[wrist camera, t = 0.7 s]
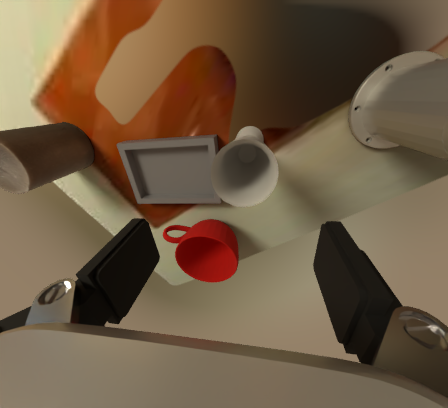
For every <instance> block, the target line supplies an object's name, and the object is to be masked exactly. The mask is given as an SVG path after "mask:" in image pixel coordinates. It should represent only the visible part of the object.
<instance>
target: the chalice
mask: <svg viewBox="0 0 448 408" xmlns="http://www.w3.org/2000/svg"><path fill="white" fill-rule="evenodd" d="M263 141H264V140H263V135H262V133H261V131H260V130H259V129H258V128H256V127H253V126H248V127H245V128H243V129H241V130H240V132H239V133H238V135H237V137H236V139H235V140H234V141H232V142H230V143H229V144H227V145H226V146H224V147H223V148H221V150H220V151H219V152H218V154H217V155H216V156H215V158H214V161H213V163H212V166H211V181H212V186H213V188H214V190H215V191H216V193H217V195H218V196H219V197H220V198H221V199H222V200H224V201H225V202H226V203H229V204H231V205H233V206H238V207H249V206H254V205H256V204H258V203H260V202H262V201H264V200H265V199H266V198H267V197H268V196H269V195H270V194H271V193H272V191H273V189H274V188H275V186H276V183H277V179H278V175H279V174H278V163H277V161H276V158H275V156H274V154H273V153H272V151H271V150H270V149H269V148H268V147H267V146H266V145H265V144H264V143H263Z"/></svg>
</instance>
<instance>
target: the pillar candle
mask: <svg viewBox="0 0 448 408" xmlns="http://www.w3.org/2000/svg"><path fill="white" fill-rule="evenodd" d="M93 161H94V150H93V147H92V145H91V142H90V141H89V139H88V137H87V136H86V134H84V132H83V131H81V130H80V129H79V128H78V127H76V126H74V125H73V124H70V123H66V122H62V123H57V124H48V125H43V126H35V127H26V128H19V129H12V130H5V131H0V187H1V188H2V189H4V190H5V191H8V192H11V193H17V194H22V193H25V192H28V191H29V190H32V189H35V188H37V187H40V186H42V185H44V184H47V183H50V182H52V181H54V180H57V179H59V178H62V177H64V176H67V175H69V174H71V173H74V172H76V171H79V170H81V169H83V168H86V167H88V166H90V165H91V164H92V163H93Z"/></svg>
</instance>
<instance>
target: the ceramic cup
mask: <svg viewBox="0 0 448 408" xmlns="http://www.w3.org/2000/svg"><path fill="white" fill-rule="evenodd" d="M171 230H181V231H186V234H184V235H183V236H181V237H178V238H174V237H170V236H168V235H167V232H169V231H171ZM163 237H164V239H165V240H166V241H168V242H171V243H179V244H178V246H177V248H176V251H175V257H176V261H177V263H178V265H179V266H180V268H181V269H182V270H183V271H184V272H185V273H186V274H188V275H189V276H191V277H193V278H195V279H198V280H200V281H205V282H220V281H224V280H226V279H228V278H230V277H231V276H232V275H233V274H234V273H235V272H236V270H237V266H238V258H239V255H238V243H237V239H236V236H235V234H234V233H233V231H232V230H231V228H230V227H229V226H228V225H226V224H225V223H223V222H221V221H219V220H214V219H208V220H203V221H200V222H198V223H197V224H195V225H194V226H192V227H187V226H181V225H172V226H169V227H167V228H166V229H165V230H164V232H163Z"/></svg>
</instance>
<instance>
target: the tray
mask: <svg viewBox="0 0 448 408" xmlns="http://www.w3.org/2000/svg"><path fill="white" fill-rule="evenodd" d="M117 147H118V150H119V153H120V155H121V158H122V161H123V164H124V167H125V169H126V172H127V175H128V178H129V180H130V183H131V186H132V189H133V192H134V194H135V197H136V200H137V203H138V204H152V203H221V202H222V199H221V198H220V197H219V196H218V195H217V193H216V191H215V190H214V188H213V186H212V181H211V166H212V163H213V161H214V158H215V156H216V155H217V154H218V152H219V151H218V141H217V135H204V136H189V137H175V138H160V139H146V140H131V141H124V142H121V143H118V144H117Z"/></svg>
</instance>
